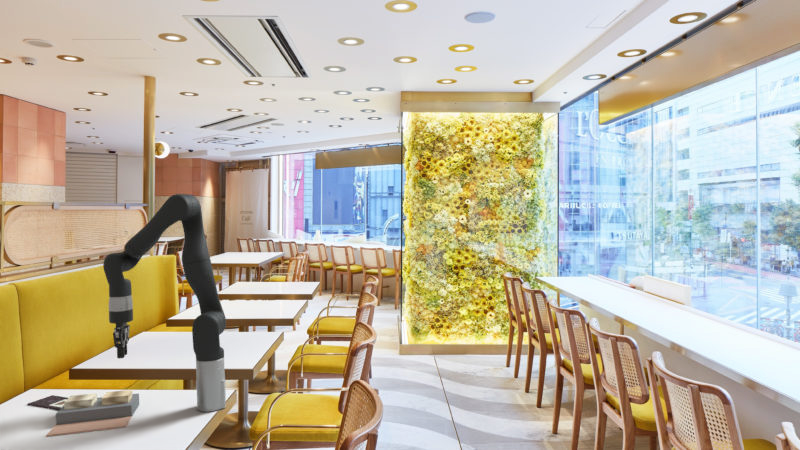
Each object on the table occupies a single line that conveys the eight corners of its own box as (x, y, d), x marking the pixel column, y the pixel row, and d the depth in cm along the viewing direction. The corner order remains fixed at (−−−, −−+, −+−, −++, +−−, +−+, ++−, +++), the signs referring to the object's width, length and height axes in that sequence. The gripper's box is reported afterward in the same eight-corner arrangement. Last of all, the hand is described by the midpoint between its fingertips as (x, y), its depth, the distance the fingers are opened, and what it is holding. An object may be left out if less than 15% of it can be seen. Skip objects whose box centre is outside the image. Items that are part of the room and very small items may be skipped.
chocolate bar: (52, 395, 193) (86, 400, 187) (52, 397, 193) (86, 403, 187) (27, 403, 185) (62, 409, 178) (27, 406, 185) (62, 412, 178)
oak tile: (132, 396, 180) (132, 389, 180) (128, 402, 174) (128, 395, 174) (106, 399, 178) (106, 392, 178) (102, 405, 172) (101, 398, 172)
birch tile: (97, 400, 177) (96, 393, 177) (91, 406, 171) (91, 399, 171) (70, 403, 175) (70, 395, 174) (64, 409, 169) (64, 402, 169)
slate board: (139, 404, 183) (138, 393, 183) (131, 417, 172) (131, 405, 172) (68, 412, 177) (68, 400, 177) (56, 425, 166) (55, 413, 165)
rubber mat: (131, 417, 171) (131, 416, 171) (125, 427, 164) (125, 425, 163) (55, 426, 165) (55, 424, 165) (46, 436, 157) (46, 435, 157)
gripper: (128, 311, 177) (129, 360, 178) (136, 304, 191) (138, 350, 191) (103, 312, 175) (105, 363, 176) (114, 305, 189) (115, 352, 189)
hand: (122, 356), depth 184 cm, fingers open, 3 cm apart
